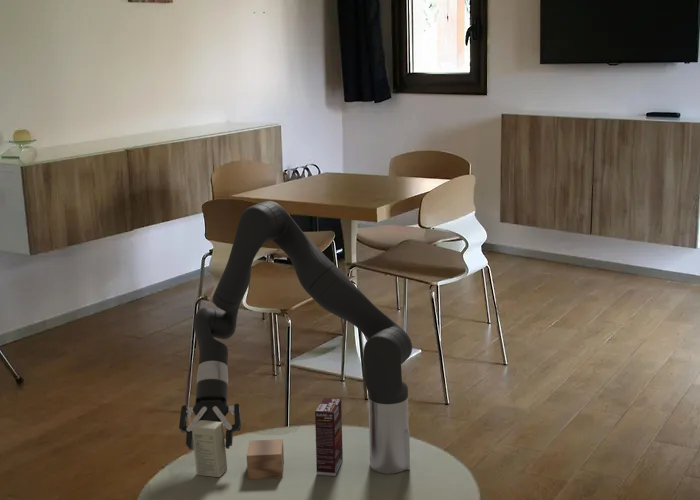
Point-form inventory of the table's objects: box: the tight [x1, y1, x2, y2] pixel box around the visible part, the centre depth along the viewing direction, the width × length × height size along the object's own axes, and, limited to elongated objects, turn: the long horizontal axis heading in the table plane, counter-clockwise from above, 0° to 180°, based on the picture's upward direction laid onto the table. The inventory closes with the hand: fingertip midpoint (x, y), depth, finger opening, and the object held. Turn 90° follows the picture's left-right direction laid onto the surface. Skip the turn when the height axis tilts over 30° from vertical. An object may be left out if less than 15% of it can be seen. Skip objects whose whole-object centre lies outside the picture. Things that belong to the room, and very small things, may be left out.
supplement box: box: [314, 397, 344, 477], centre depth 205 cm, size 9×5×16 cm, turn 168°
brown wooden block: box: [246, 438, 285, 480], centre depth 206 cm, size 8×8×6 cm
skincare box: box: [192, 420, 228, 478], centre depth 205 cm, size 6×4×12 cm
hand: (209, 448), depth 204 cm, fingers open, 8 cm apart
